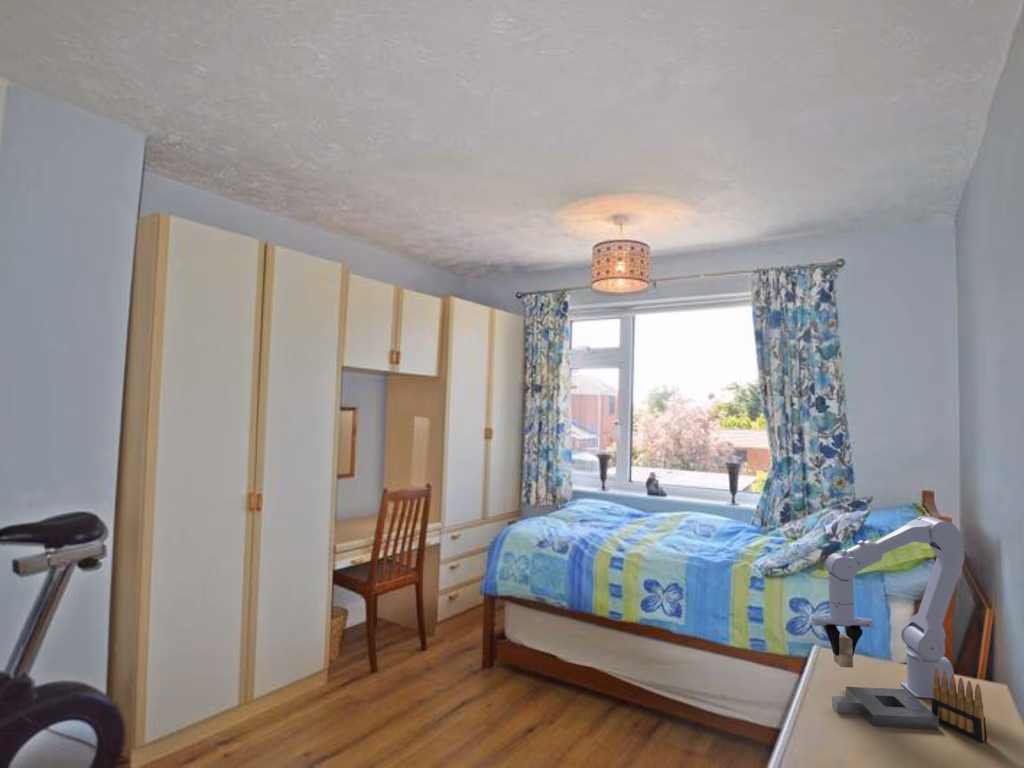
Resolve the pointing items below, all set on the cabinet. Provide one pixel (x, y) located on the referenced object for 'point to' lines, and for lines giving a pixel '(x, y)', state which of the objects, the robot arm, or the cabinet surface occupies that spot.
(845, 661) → the oak wedge
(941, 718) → the ammunition clip
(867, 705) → the steel bracket head
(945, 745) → the cabinet surface
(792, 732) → the cabinet surface
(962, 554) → the robot arm
